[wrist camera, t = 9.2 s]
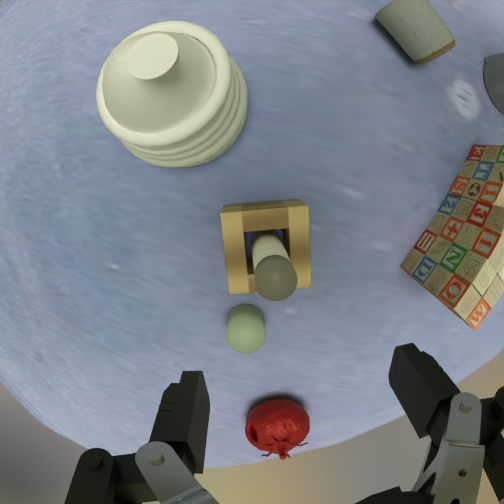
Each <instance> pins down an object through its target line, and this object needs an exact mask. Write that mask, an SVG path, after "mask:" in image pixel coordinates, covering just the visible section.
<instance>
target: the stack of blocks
mask: <svg viewBox="0 0 504 504" xmlns="http://www.w3.org/2000/svg"><path fill="white" fill-rule="evenodd" d="M400 267H401V268H403V269H404V270H405V271H406V272H407V273H408V274H409V275H411V276H412V277H413V278H414V279H415V280H417V281H418V282H419V283H420V284H421V285H422V286H423V287H424V288H425V289H426V290H428V291H429V292H430V293H431V294H433V295H434V296H435V297H436V298H437V299H438V300H440V301H441V302H442V303H443V304H444V305H445V306H447V307H448V308H449V309H450V310H451V311H452V312H453V313H454V314H456V315H457V316H458V317H459V318H460V319H462V320H463V321H464V322H465V323H466V324H468V325H469V326H470V327H471V328H472V329H473V330H474V331H475V330H476V329H477V328H478V327H479V325H480V324H481V322H482V321H483V319H484V318H485V317H486V315H487V314H488V312H489V311H490V309H491V308H493V307H494V305H495V304H496V302H497V301H498V299H499V298H500V296H501V294H502V293H503V291H504V145H502V146H498V145H473V147H472V149H471V152H470V154H469V156H468V158H467V160H466V161H465V162H464V164H463V166H462V168H461V170H460V172H459V174H458V176H457V178H456V179H455V181H454V183H453V185H452V186H451V188H450V190H449V192H448V194H447V196H446V198H445V199H444V201H443V203H442V204H441V206H440V208H439V209H438V212H437V213H436V214H435V216H434V218H433V219H432V221H431V222H430V224H429V226H428V227H427V229H426V230H425V231H424V232H423V234H422V235H421V237H420V238H419V240H418V241H417V243H416V244H415V246H414V247H413V249H412V250H411V251H410V253H409V254H408V256H407V257H406V258H405V260H404V261H403V263H402V264H401V265H400Z"/></svg>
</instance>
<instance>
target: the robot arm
mask: <svg viewBox="0 0 504 504" xmlns="http://www.w3.org/2000/svg"><path fill="white" fill-rule="evenodd" d="M484 80H485V84H486V88H487V91H488V93H489V96H490V98H491V100H492V101H493V103H494V104H495V106H496V107H497V108H498V110H499V111H501V112H502V113H503V114H504V53H500V54H496V55H493V56H489V57H486V58H485V67H484ZM389 383H390V386H391V388H392V389H393V391H394V393H395V395H396V396H397V398H398V400H399V402H400V404H401V405H402V407H403V409H404V411H405V413H406V414H407V416H408V418H409V420H410V422H411V423H412V425H413V427H414V429H415V431H416V433H417V435H418V436H419V438H423V437H425V436H428V435H430V437H431V440H430V441H429V444H428V448H427V451H426V455H425V458H424V462H423V465H422V468H421V471H420V474H419V477H418V479H417V481H416V483H415V485H414V486H413V488H412V490H411V491H407V492H401V489H400V487H399V486H398V487H395V488H392V489H389V490H386V491H383V492H380V493H377V494H374V495H371V496H369V497H367V498H365V499H364V500H361V501H359V502H357V503H355V504H476V500H477V495H478V490H479V486H480V481H481V475H482V468H484V470H485V472H486V474H487V477H488V479H489V481H490V483H491V485H492V487H493V489H494V492H495V494H496V496H497V498H498V501H499V504H504V438H503V436H502V434H501V432H502V431H503V429H504V387H501V388H500V389H498V391H497V392H496V394H495V396H494V397H492V398H486V399H478V397H477V396H475V395H474V394H471V393H467V392H463V393H461V392H460V390H459V389H458V388H457V386H456V385H455V384H454V383H453V381H452V380H451V379H450V378H449V376H448V375H447V374H446V373H445V372H444V371H443V369H442V368H441V366H439V364H438V363H437V361H436V360H435V359H434V358H433V357H432V356H431V355H429V354H427V353H426V352H424V351H422V352H420V351H419V349H418V348H417V347H416V346H415V344H413V343H409V344H405V345H401V346H397V347H396V348H395V350H394V354H393V358H392V362H391V366H390V370H389ZM158 410H159V411H158V413H157V416H156V419H155V423H154V426H153V429H152V433H151V436H150V440H149V442H148V443H146V444H144V445H143V446H141V447H140V448H139V449H138V451H137V452H136V453H133V454H126V455H118V456H112V455H111V454H110V453H109V452H108V451H106V450H104V449H101V448H92V449H89V450H87V451H85V452H84V453H83V454H82V455H81V457H80V459H79V461H78V464H77V467H76V470H75V473H74V476H73V478H72V481H71V485H70V488H69V491H68V494H67V497H66V500H65V504H142V502H150V501H159V502H160V503H161V504H219V503H218V502H217V501H216V500H215V499H214V497H213V496H212V495H211V494H210V493H209V492H208V491H207V490H206V489H204V488H203V487H202V486H201V485H200V484H199V482H198V481H197V480H196V479H195V477H194V473H199V474H202V473H203V467H204V458H205V448H206V439H207V430H208V422H209V413H210V400H209V395H208V391H207V387H206V383H205V379H204V375H203V372H202V371H183V372H182V375H181V379H180V383H171V384H170V385H169V386H168V388H167V389H166V390H165V391H164V393H163V396H162V399H161V403H160V406H159V409H158Z"/></svg>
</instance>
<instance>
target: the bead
mask: <svg viewBox="0 0 504 504" xmlns="http://www.w3.org/2000/svg"><path fill="white" fill-rule="evenodd" d="M265 340H266V334H265V326H264V318H263V314H262V312H261V311H260V309H259V308H257V307H256V306H254V305H251V304H241V305H238V306H236V307H234V308H233V309H232V310H231V311H230V312H229V315H228V321H227V331H226V341H227V343H228V345H229V346H230V347H231V348H232V349H233V350H235V351H237V352H240V353H251V352H254V351H257V350H258V349H260V348H261V347H262V346H263V344H264V343H265Z"/></svg>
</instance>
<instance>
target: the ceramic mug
mask: <svg viewBox="0 0 504 504" xmlns="http://www.w3.org/2000/svg"><path fill="white" fill-rule="evenodd" d="M375 18H376V19H377V20H378V21H379V22H380V23H381V24H382V25H383V26H384V27H385V29H386V30H387V31H388V32H389V33H390V34H391V35H392V36H393V37H394V39H395V40H396V41H397V42H398V43H399V44H400V46H401V47H402V48H403V50H404V51H405V52H406V53H407V54H408V55H409V56H410V57H411V59H412V60H414V61H415V62H417V63H424V62H427V61H429V60H432V59H434V58H436V57H438V56H440V55H442V54H444V53H445V52H447V51H449V50H450V49H452V48H453V47H454V45H455V40H454V37H453V35H452V33H451V32H450V30H449V28H448V27H447V26H446V24H445V23H444V21H443V20H442V19H441V18H440V16H439V15H438V13H437V12H436V11H435V9H434V8H433V7H432V5H431V4H430V3H429V2H428V0H394V1H393V2H391V3H389V4H388V5H387V6H385V7H384V8H382V9H381V10H380V11H379V12H378V13H377V14H376V15H375Z"/></svg>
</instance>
